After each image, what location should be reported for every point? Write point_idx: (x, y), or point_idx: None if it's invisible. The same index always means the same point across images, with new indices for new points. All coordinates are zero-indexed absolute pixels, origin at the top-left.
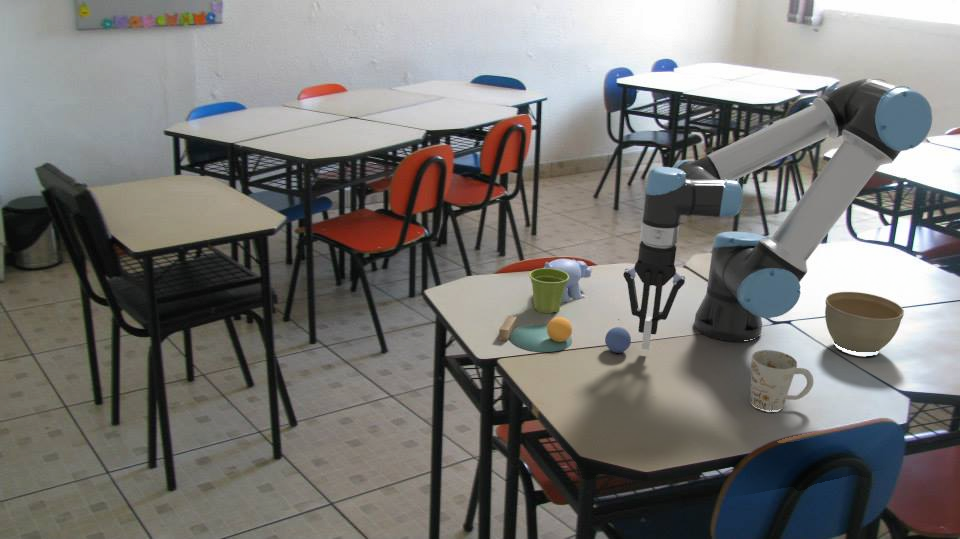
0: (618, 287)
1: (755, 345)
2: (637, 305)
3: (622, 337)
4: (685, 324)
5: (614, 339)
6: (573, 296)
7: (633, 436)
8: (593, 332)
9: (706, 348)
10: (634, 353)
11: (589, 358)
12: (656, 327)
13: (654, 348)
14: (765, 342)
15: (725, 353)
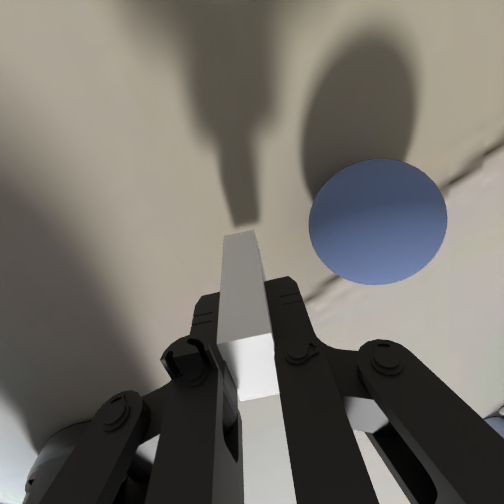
0: (394, 480)
1: (22, 434)
2: (392, 460)
3: (363, 199)
4: None
5: (400, 172)
6: (500, 422)
7: None
8: (443, 294)
9: (103, 370)
10: (280, 226)
11: (460, 56)
12: (194, 329)
13: None
14: (17, 452)
15: (43, 372)
